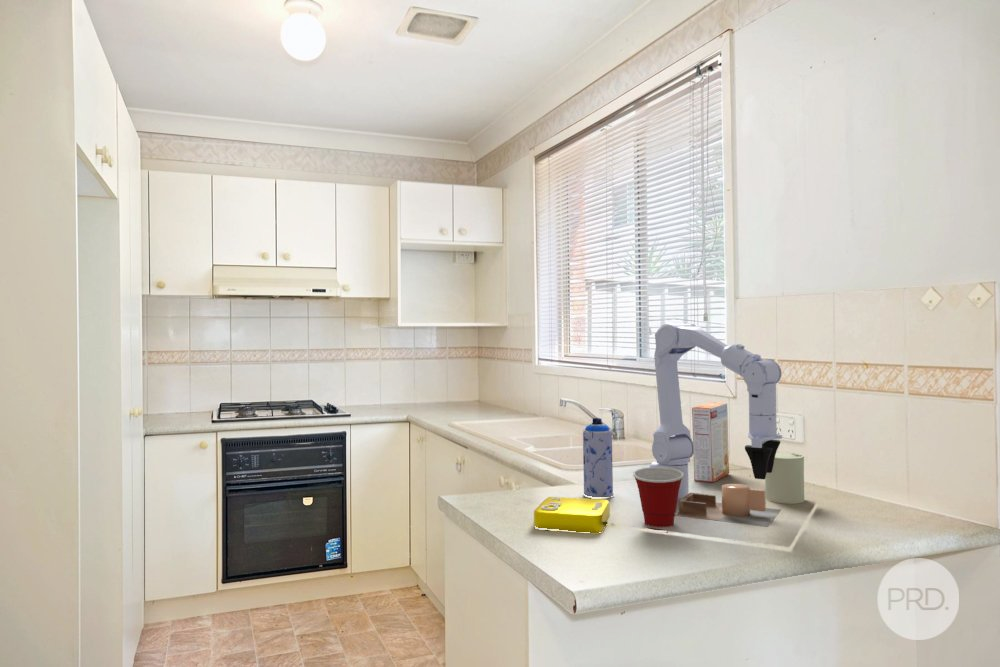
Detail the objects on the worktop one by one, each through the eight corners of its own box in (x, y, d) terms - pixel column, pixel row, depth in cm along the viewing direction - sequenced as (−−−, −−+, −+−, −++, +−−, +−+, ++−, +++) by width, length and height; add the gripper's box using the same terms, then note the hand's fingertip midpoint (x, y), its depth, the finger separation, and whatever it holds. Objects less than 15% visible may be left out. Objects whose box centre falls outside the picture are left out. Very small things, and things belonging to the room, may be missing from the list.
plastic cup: (628, 531, 150) (627, 475, 150) (638, 518, 160) (637, 465, 160) (681, 536, 146) (680, 478, 146) (687, 522, 156) (687, 468, 156)
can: (809, 507, 168) (808, 456, 167) (768, 506, 169) (767, 456, 169) (800, 498, 177) (799, 450, 177) (761, 497, 178) (760, 449, 178)
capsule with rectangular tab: (725, 508, 165) (725, 482, 165) (767, 513, 160) (767, 486, 160) (719, 514, 159) (718, 488, 159) (762, 519, 155) (762, 492, 155)
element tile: (601, 536, 148) (600, 513, 148) (531, 532, 153) (531, 509, 153) (611, 518, 163) (610, 497, 163) (547, 514, 167) (547, 494, 167)
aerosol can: (585, 491, 188) (584, 416, 188) (615, 492, 186) (614, 416, 186) (580, 498, 180) (579, 419, 180) (611, 499, 178) (610, 420, 178)
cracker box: (709, 472, 210) (708, 401, 210) (730, 474, 207) (728, 402, 207) (692, 480, 199) (690, 406, 199) (713, 483, 195) (712, 407, 195)
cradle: (694, 503, 173) (694, 489, 173) (781, 512, 163) (780, 498, 163) (674, 518, 160) (674, 504, 160) (768, 530, 149) (767, 514, 149)
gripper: (775, 419, 149) (776, 483, 149) (787, 411, 161) (788, 471, 161) (741, 417, 153) (741, 480, 153) (754, 410, 165) (755, 468, 165)
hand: (763, 475), depth 157 cm, fingers open, 7 cm apart
